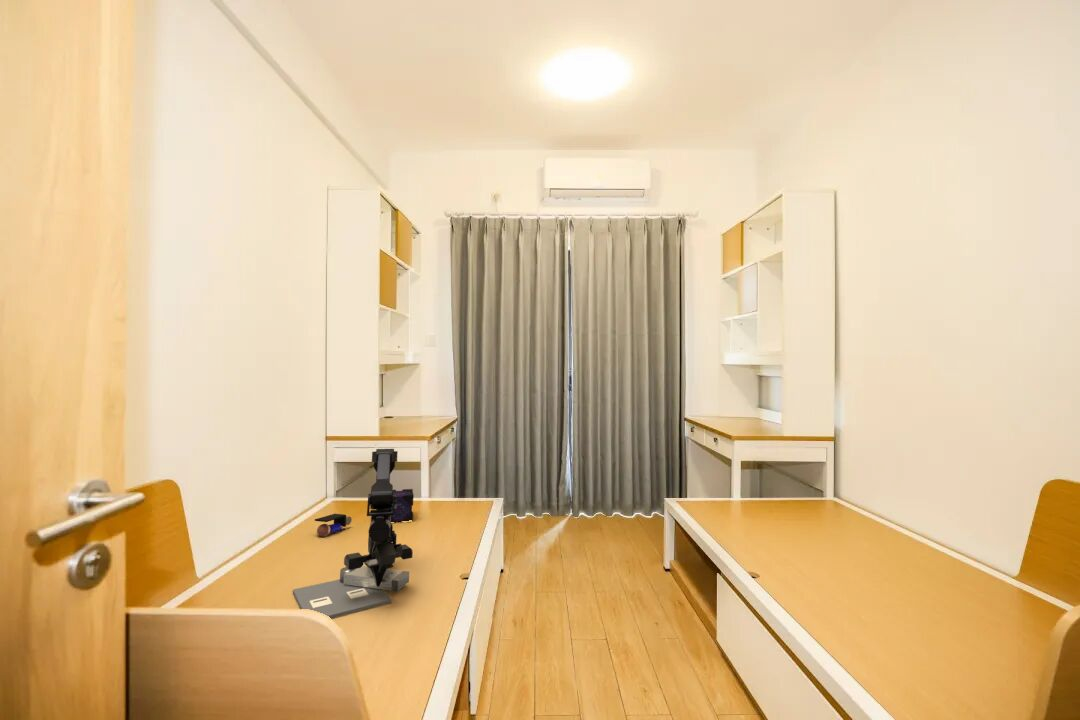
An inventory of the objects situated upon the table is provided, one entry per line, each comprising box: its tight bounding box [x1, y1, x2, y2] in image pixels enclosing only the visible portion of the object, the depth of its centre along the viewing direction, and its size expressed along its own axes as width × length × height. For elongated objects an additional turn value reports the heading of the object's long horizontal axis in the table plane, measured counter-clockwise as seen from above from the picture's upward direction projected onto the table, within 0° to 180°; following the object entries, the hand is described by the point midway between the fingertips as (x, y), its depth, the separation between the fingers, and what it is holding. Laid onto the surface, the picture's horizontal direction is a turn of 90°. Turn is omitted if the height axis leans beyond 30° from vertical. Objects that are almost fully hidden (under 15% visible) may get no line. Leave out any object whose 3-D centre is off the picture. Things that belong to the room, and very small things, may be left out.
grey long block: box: [339, 565, 410, 592], centre depth 147 cm, size 21×7×3 cm, turn 78°
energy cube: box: [390, 488, 414, 523], centre depth 217 cm, size 12×12×12 cm
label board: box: [292, 578, 393, 620], centre depth 139 cm, size 22×22×1 cm
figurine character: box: [314, 513, 352, 538], centre depth 196 cm, size 7×8×15 cm
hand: (377, 586), depth 141 cm, fingers closed
